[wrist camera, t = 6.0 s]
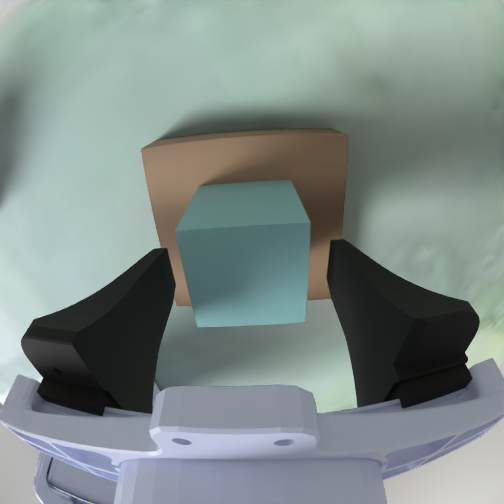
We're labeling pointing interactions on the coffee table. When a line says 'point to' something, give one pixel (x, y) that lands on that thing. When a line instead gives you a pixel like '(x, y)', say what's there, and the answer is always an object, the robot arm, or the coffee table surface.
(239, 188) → the teal block
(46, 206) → the coffee table surface
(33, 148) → the coffee table surface
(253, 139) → the walnut slab
